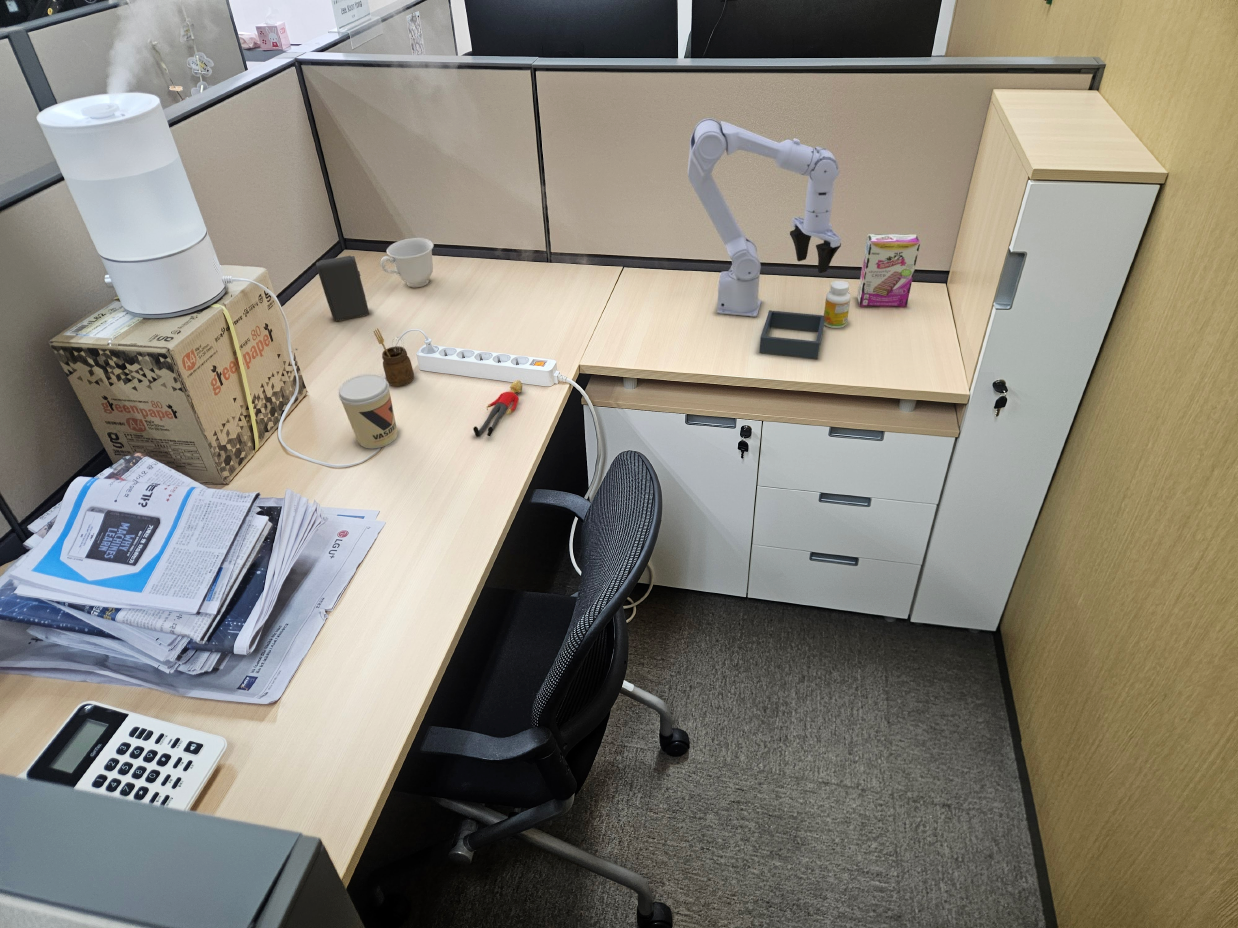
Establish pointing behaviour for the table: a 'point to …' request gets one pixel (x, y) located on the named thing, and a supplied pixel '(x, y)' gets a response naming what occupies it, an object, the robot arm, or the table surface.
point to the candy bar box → (888, 270)
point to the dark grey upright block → (343, 287)
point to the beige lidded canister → (369, 409)
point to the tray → (792, 345)
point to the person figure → (500, 408)
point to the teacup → (411, 260)
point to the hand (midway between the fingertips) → (812, 266)
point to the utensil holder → (396, 363)
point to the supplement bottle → (837, 305)
